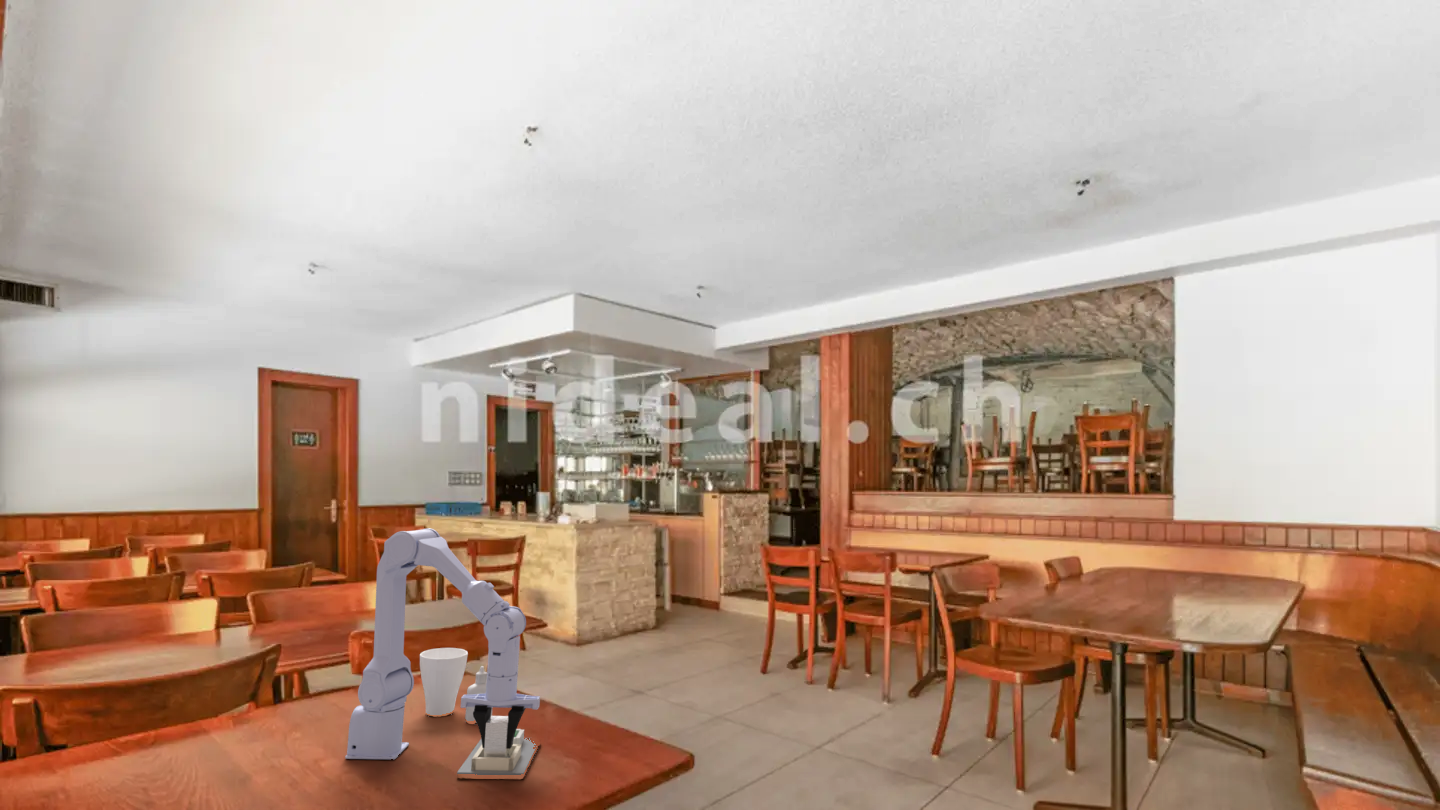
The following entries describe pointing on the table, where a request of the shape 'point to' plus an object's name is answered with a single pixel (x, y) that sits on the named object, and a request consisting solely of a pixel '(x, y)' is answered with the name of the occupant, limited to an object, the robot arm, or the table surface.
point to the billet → (496, 737)
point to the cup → (442, 678)
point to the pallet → (500, 759)
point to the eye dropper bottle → (476, 691)
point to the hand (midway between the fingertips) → (497, 746)
